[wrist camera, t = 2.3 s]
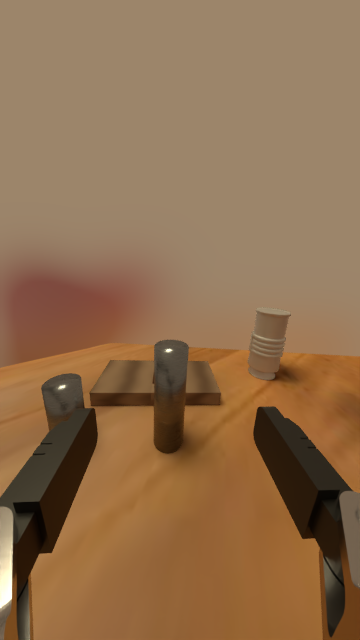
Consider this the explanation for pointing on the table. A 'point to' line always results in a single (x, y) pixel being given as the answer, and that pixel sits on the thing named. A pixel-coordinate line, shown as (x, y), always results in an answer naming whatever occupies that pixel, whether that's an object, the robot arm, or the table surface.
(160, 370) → the tall pin
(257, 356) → the white ribbed cylinder
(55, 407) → the short pin
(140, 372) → the hole plate
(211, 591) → the table surface
